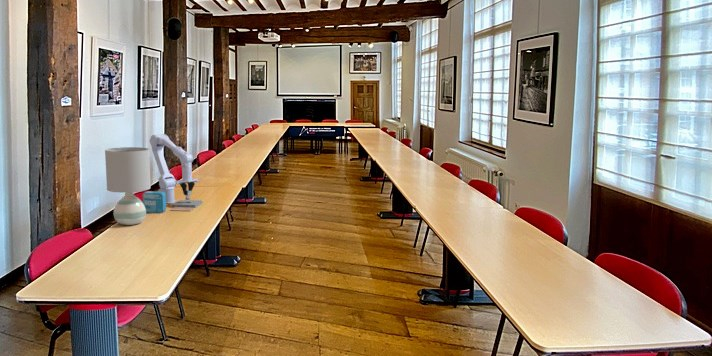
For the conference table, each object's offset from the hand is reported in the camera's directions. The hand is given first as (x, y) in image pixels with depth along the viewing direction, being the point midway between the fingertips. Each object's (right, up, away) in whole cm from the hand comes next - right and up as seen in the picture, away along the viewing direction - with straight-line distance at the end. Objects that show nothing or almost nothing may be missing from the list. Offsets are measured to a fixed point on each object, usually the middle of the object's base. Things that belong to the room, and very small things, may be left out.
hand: (187, 194), depth 340 cm
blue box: (-14, -10, -18) cm, 25 cm away
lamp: (-17, -14, -46) cm, 51 cm away
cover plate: (0, -7, +1) cm, 7 cm away
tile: (0, -9, -11) cm, 14 cm away
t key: (0, -3, +1) cm, 3 cm away
